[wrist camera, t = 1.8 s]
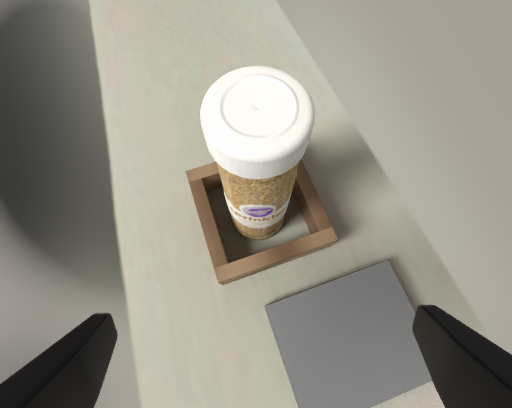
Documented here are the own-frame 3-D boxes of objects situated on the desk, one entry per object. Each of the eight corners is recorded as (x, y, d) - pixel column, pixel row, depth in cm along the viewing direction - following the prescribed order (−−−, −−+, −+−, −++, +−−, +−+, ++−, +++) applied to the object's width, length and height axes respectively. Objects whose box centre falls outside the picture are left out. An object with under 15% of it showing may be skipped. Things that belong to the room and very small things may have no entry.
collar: (222, 285, 21) (218, 282, 19) (192, 184, 24) (185, 171, 22) (329, 246, 22) (338, 239, 20) (288, 153, 25) (291, 138, 23)
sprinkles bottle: (239, 247, 22) (212, 171, 10) (225, 196, 24) (187, 74, 11) (292, 231, 23) (335, 139, 10) (276, 183, 24) (294, 49, 12)
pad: (305, 429, 18) (307, 434, 17) (264, 306, 21) (264, 306, 20) (439, 371, 19) (446, 374, 18) (383, 261, 22) (388, 259, 21)
